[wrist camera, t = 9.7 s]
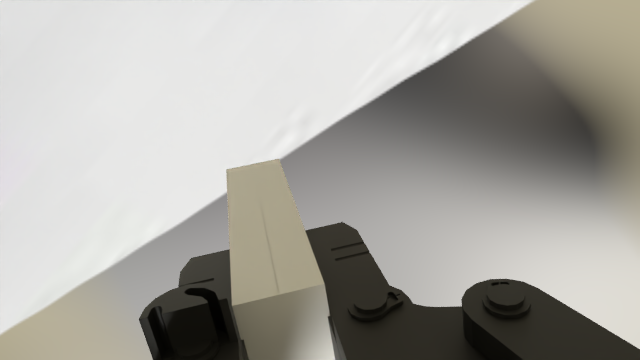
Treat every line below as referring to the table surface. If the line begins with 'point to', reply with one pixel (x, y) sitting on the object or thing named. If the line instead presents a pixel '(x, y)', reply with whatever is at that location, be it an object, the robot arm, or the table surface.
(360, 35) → the table surface
